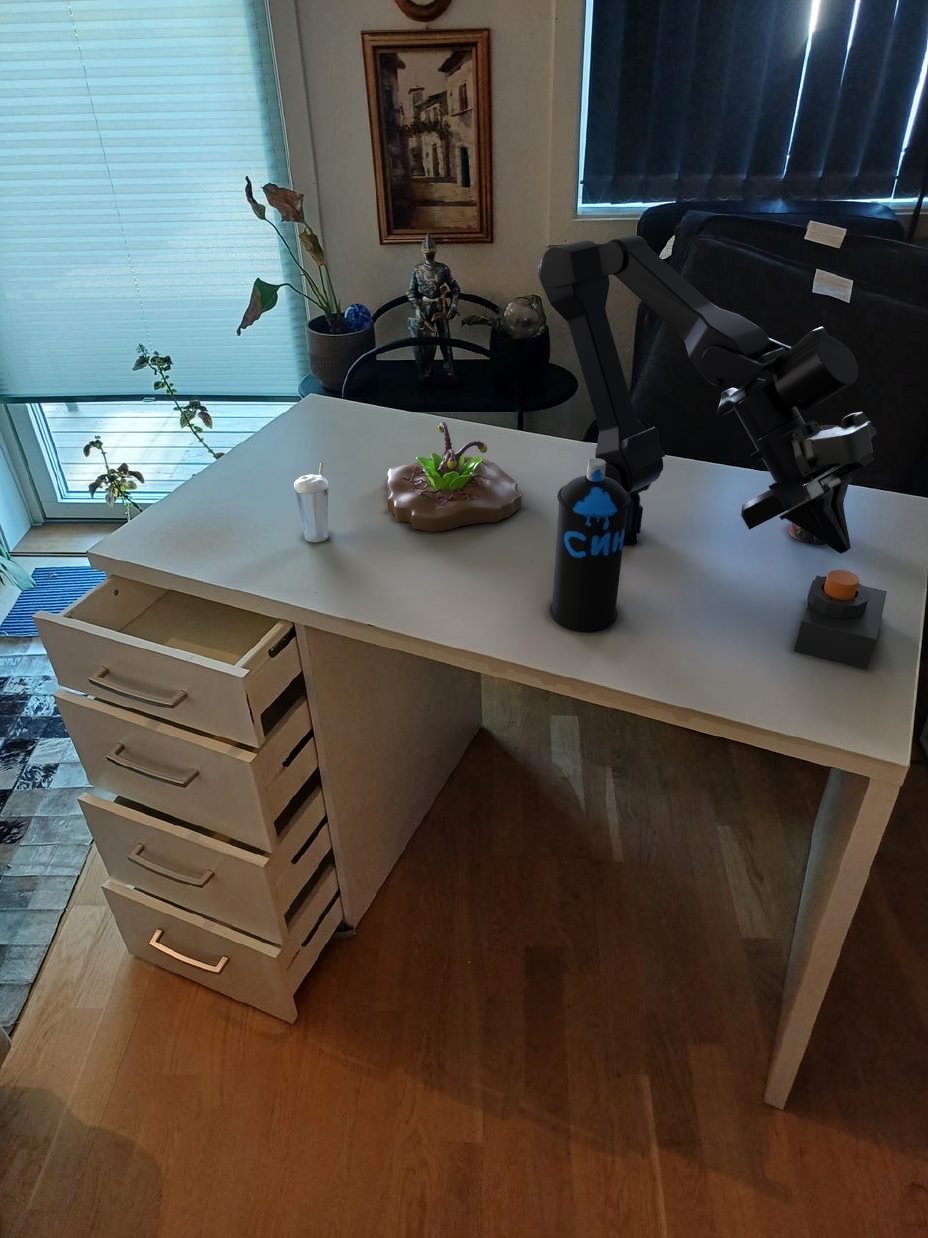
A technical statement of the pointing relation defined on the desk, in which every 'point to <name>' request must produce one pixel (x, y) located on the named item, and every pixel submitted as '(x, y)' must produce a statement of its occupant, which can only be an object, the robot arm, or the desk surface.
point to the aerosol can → (589, 550)
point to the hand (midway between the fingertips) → (845, 551)
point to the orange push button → (841, 584)
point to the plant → (451, 490)
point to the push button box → (841, 625)
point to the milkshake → (313, 505)
